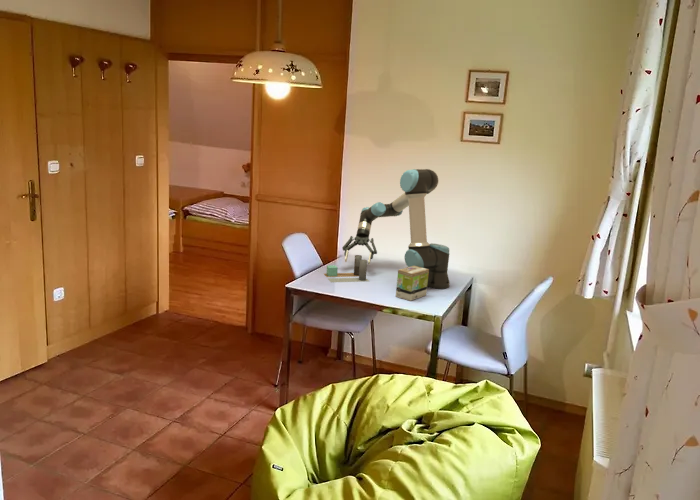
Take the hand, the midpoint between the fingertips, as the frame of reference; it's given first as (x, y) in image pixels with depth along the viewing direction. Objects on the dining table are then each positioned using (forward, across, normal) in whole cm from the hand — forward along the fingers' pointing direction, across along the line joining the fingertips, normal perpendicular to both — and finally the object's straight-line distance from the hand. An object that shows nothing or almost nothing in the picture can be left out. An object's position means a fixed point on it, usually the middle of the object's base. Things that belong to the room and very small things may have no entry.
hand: (357, 262), depth 352 cm
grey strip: (+16, +2, +5) cm, 17 cm away
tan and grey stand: (+10, +6, -1) cm, 12 cm away
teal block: (+11, +12, +2) cm, 17 cm away
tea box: (+25, -34, +14) cm, 45 cm away
